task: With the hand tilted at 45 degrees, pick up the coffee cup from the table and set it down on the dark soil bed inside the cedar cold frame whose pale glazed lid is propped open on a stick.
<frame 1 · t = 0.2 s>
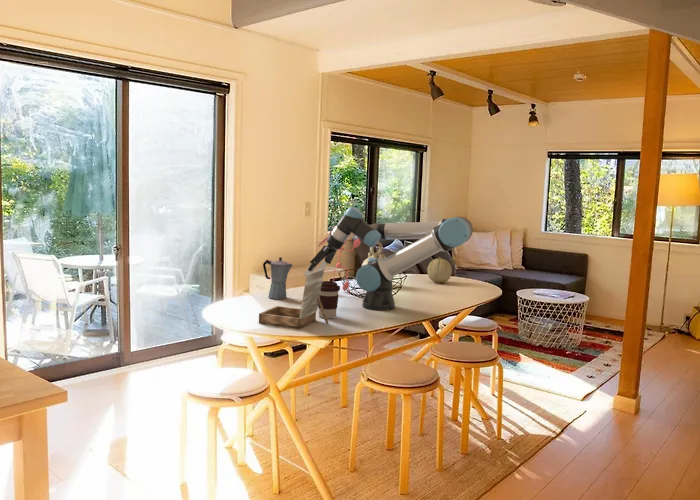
hand: (312, 274, 268), 15 cm above the table, tool tilted 35°, fingers open, 13 cm apart
figurine: (334, 293, 303), on the table
cantaloupe: (438, 283, 346), on the table
coffee cup: (327, 317, 250), on the table
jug: (374, 285, 328), on the table
moka pot: (276, 298, 284), on the table
cold frame: (287, 321, 238), on the table
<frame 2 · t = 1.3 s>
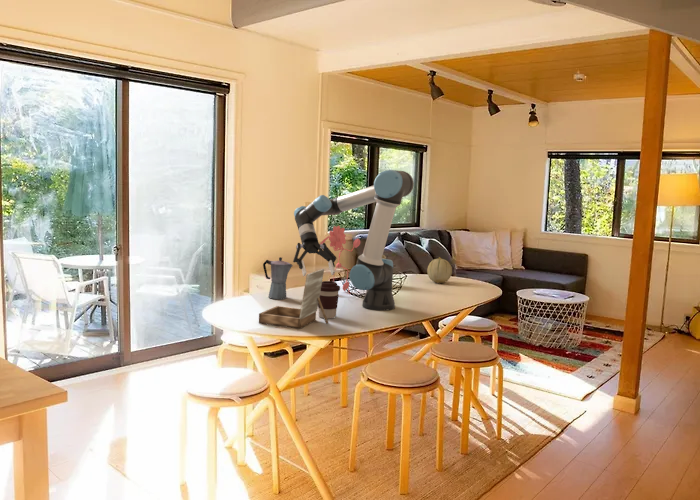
hand: (319, 274, 257), 17 cm above the table, tool tilted 45°, fingers open, 13 cm apart
nothing on the table moved.
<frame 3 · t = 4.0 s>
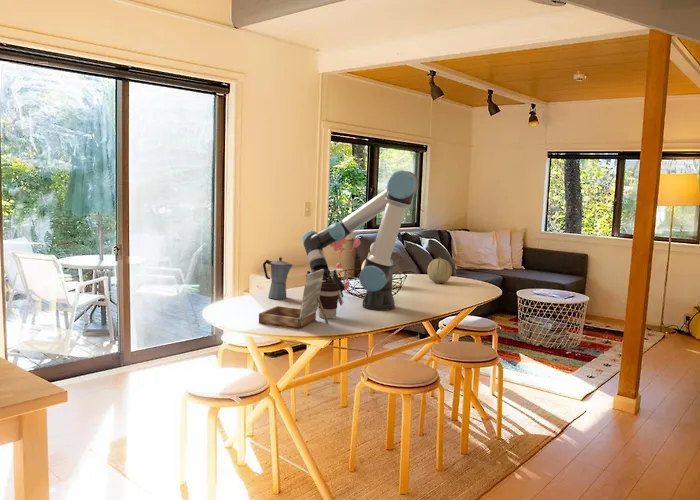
hand: (330, 304, 246), 6 cm above the table, tool tilted 45°, fingers closed on coffee cup, 10 cm apart
coffee cup: (327, 317, 250), on the table, touching gripper
everything else where it was.
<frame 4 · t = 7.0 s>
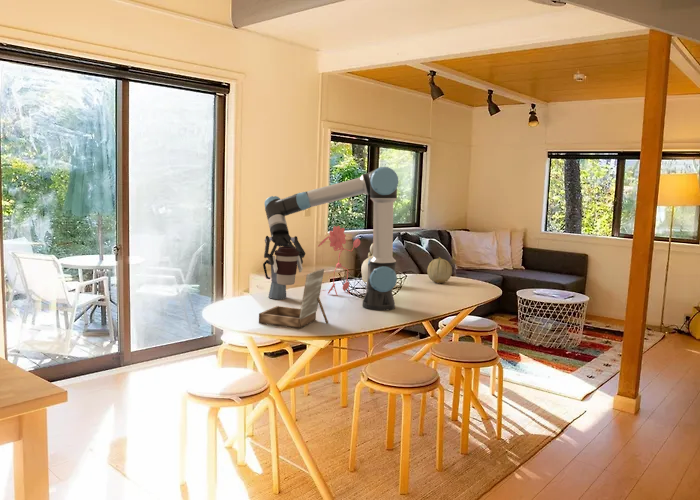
hand: (288, 270, 236), 21 cm above the table, tool tilted 45°, fingers closed on coffee cup, 10 cm apart
coffee cup: (285, 284, 239), point 15 cm above the table, touching gripper
everything else where it was.
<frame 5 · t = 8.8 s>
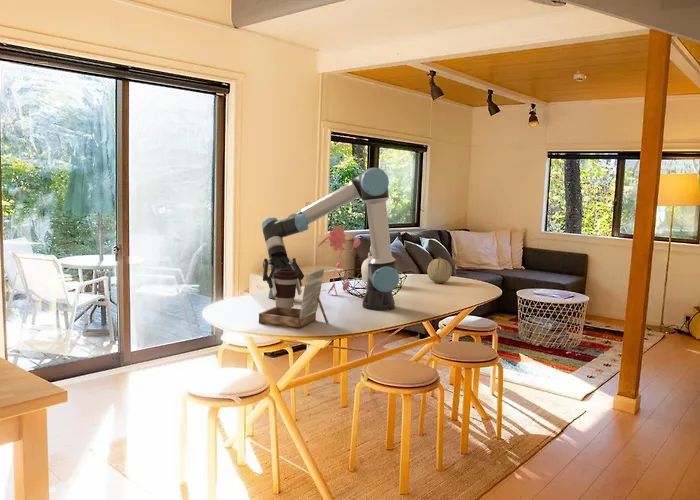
hand: (287, 293, 234), 12 cm above the table, tool tilted 45°, fingers closed on coffee cup, 10 cm apart
coffee cup: (284, 307, 238), point 6 cm above the table, touching gripper
everything else where it was.
when the fingers open (8 cm above the table, at t = 10.2 s): coffee cup drops 1 cm, resting on cold frame.
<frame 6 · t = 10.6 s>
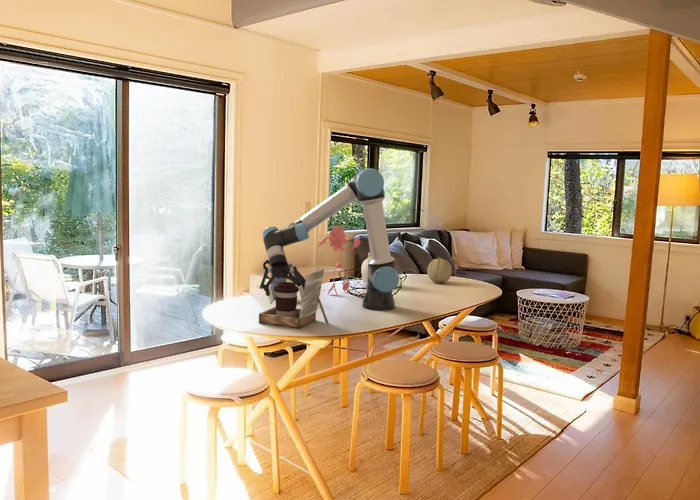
hand: (288, 301, 235), 9 cm above the table, tool tilted 45°, fingers open, 13 cm apart
coffee cup: (285, 319, 239), point 1 cm above the table, touching cold frame
everything else where it was.
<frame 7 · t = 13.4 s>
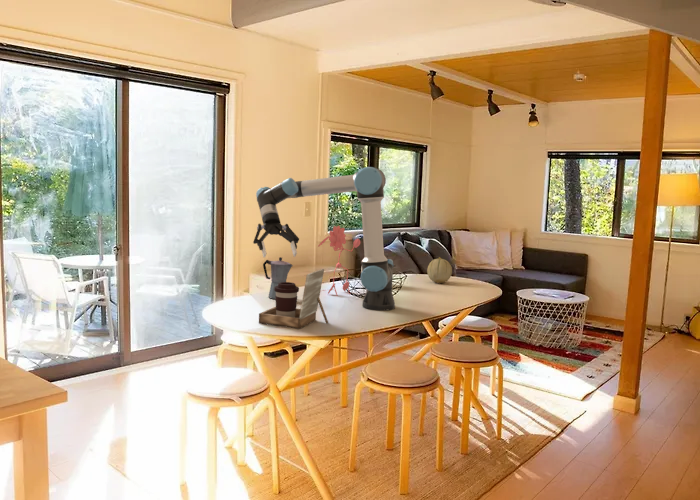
hand: (280, 255, 248), 26 cm above the table, tool tilted 45°, fingers open, 13 cm apart
nothing on the table moved.
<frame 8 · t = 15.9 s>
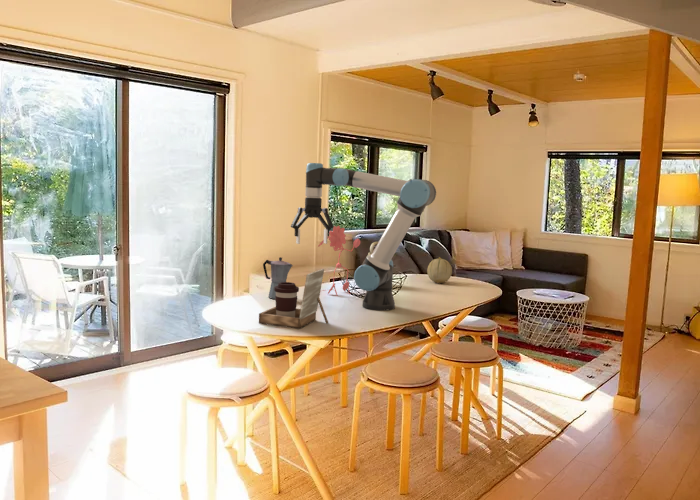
hand: (311, 243, 268), 29 cm above the table, tool pointing down, fingers open, 13 cm apart
nothing on the table moved.
at the end: coffee cup inside the target area on the cold frame (1.0 cm from its centre), point 0.6 cm above the cold frame's base; coffee cup tilted 0°; the gripper is holding nothing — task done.
